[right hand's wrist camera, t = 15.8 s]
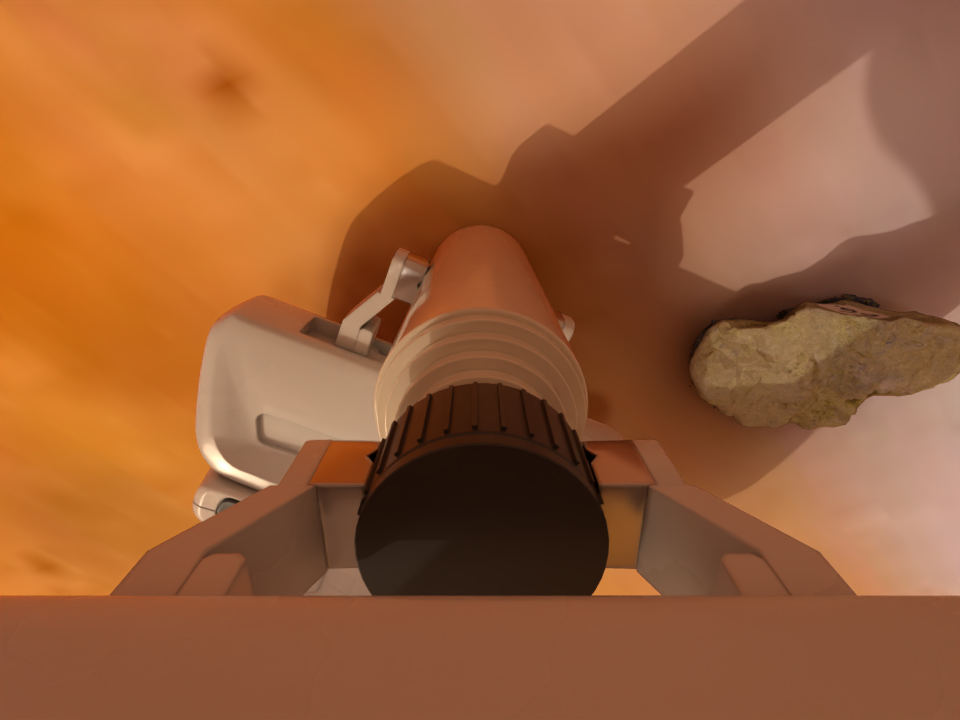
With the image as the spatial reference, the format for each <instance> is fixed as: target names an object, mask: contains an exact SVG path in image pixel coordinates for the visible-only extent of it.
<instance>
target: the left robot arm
mask: <svg viewBox="0 0 960 720" xmlns="http://www.w3.org/2000/svg"><path fill="white" fill-rule="evenodd" d="M430 262H431V260H429V259H427V258H425V257H422V256H420V255H418V254H415V253H413V252H410V251H409V250H406V249H403V248H401V247H400V248H399V249H398V250H397V251H396V253H395V255H394V257H393V260H392V262H391V265H390V268H389V270H388V273H387V276H386V279H385V282H384V283H383V284H382V285H381V286H380V287H378V288H377V289H376V290H375V291H373V292H372V293H371V294H370V295H368V296H367V297H366V298H365V299H363V300H362V301H361V302H360V303H358V304H357V305H356V306H355V307H354V308H353V309H352V310H351V311H350V312H349V314H348V315H347V316H346V317H345V318H344V319H343V321H342V324H340V323H337V322H335V321H332V320H329V319H327V318H324V317H321V316H319V315H316V314H314V313H311V312H308V311H306V310H303V309H300V308H298V307H295V306H293V305H290V304H287V303H285V302H282V301H279V300H277V299H274V298H272V297H269V296H264V295H261V296H256V297H254V298H252V299H249V300H247V301H245V302H243V303H241V304H239V305H237V306H235V307H233V308H232V309H230V310H229V311H227V312H226V313H224V314H223V315H222V316H221V317H219V318H218V319H217V320H216V322H215V323H214V324H213V325H212V327H211V329H210V331H209V334H208V337H207V341H206V345H205V349H204V354H203V359H202V365H201V371H200V378H199V385H198V394H197V406H196V424H195V426H196V438H197V443H198V446H199V449H200V452H201V454H202V456H203V457H204V459H205V460H206V462H207V463H208V464H209V465H210V466H211V468H210V470H209V471H208V472H207V474H206V476H205V477H204V479H203V481H202V482H201V484H200V486H199V487H198V489H197V491H196V493H195V496H194V500H193V512H194V514H195V515H196V517H197V518H198V519H199V520H200V521H201V522H203V521H204V520H206V519H208V518H210V517H212V516H214V515H216V514H217V513H219V512H221V511H223V510H225V509H227V508H229V507H231V506H232V505H234V504H236V503H238V502H240V501H242V500H244V499H245V498H247V497H249V496H251V495H253V494H255V493H257V492H259V491H260V490H262V489H264V488H266V487H268V486H270V485H278V484H279V483H280V481H281V479H282V478H283V476H284V475H285V473H286V472H287V470H288V468H289V467H290V465H291V464H292V462H293V460H294V459H295V457H296V456H297V454H298V452H299V451H300V449H301V448H302V446H303V444H304V443H305V442H306V441H308V440H328V439H332V440H368V441H381V440H380V437H379V433H378V429H377V425H376V421H375V415H374V391H375V386H376V381H377V378H378V375H379V372H380V369H381V367H382V365H383V363H384V361H385V359H386V356H387V354H388V352H389V350H390V348H391V346H392V344H393V343H390V342H387V341H385V340H382V339H379V338H377V337H376V335H377V332H378V329H379V326H380V323H381V318H380V317H378V316H375V315H376V314H377V313H378V312H380V311H381V310H382V309H383V308H384V307H386V306H387V305H388V304H389V303H391V302H392V301H393V300H394V299H395V298H396V299H399V300H402V301H404V302H407V303H410V304H411V303H412V301H413V299H414V297H415V295H416V293H417V290H418V288H419V286H420V284H421V282H422V280H423V278H424V276H425V274H426V272H427V270H428V268H429V265H430ZM553 311H554V313H555V315H556V317H557V319H558V322H559V324H560V326H561V328H562V330H563V332H564V334H565V336H566V338H567V340H568V342H569V341H570V339H571V337H572V335H573V333H574V329H575V323H574V321H573V319H572V318H571V317H570V316H567V315H565V314H562V313H560V312H558V311H555V310H553ZM611 440H624V438H623V436H622V435H621V434H620V432H619V431H618V430H617V429H615V428H613V427H611V426H609V425H606V424H603V423H601V422H598V421H596V420H593V419H590V418H588V417H587V420H586V425H585V428H584V433H583V437H582V439H581V441H611ZM302 596H372V595H371V594H370V592H369V591H368V589H367V587H366V585H365V584H364V582H363V580H362V577H361V575H360V572H359V569H358V568H340V569H327V572H326V573H325V574H324V575H323V576H322V577H321V578H320V579H319V580H318V581H317V582H316V583H315V584H314V585H313V586H312V587H311V588H310V589H309V590H308V591H307V592H306V593H305V594H304V595H302Z"/></svg>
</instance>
